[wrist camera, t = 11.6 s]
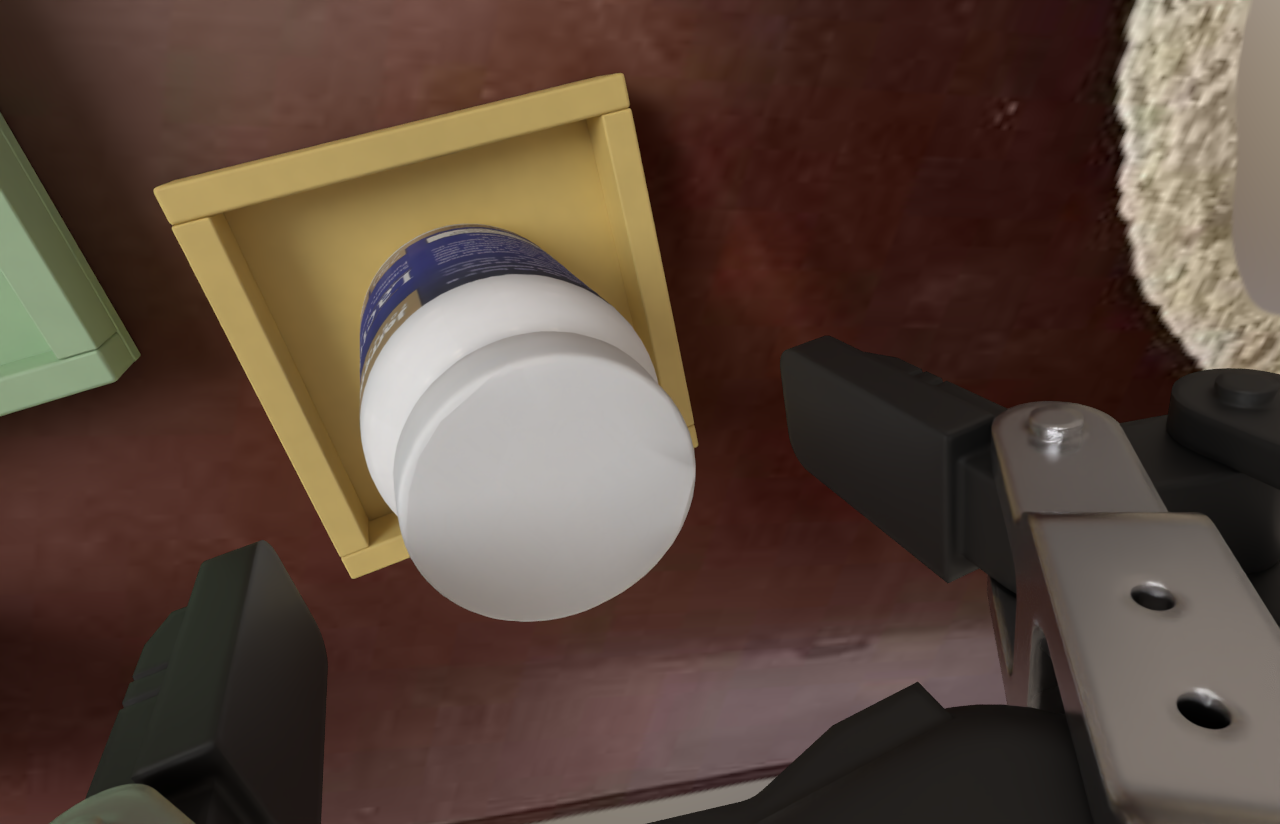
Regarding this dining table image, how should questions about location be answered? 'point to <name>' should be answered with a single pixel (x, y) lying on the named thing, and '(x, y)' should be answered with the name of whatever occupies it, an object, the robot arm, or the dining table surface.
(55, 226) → the green tray
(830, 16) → the dining table surface
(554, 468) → the pill bottle
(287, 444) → the yellow tray
